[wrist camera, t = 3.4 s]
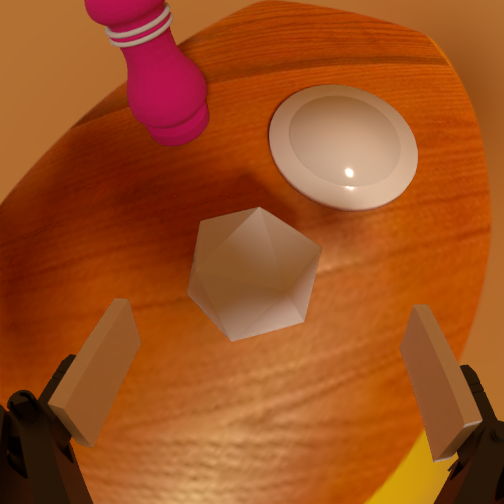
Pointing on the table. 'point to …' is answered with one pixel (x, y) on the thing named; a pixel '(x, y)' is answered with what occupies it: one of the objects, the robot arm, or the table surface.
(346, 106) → the plate
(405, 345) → the robot arm
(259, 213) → the die
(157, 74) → the pepper mill
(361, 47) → the table surface
